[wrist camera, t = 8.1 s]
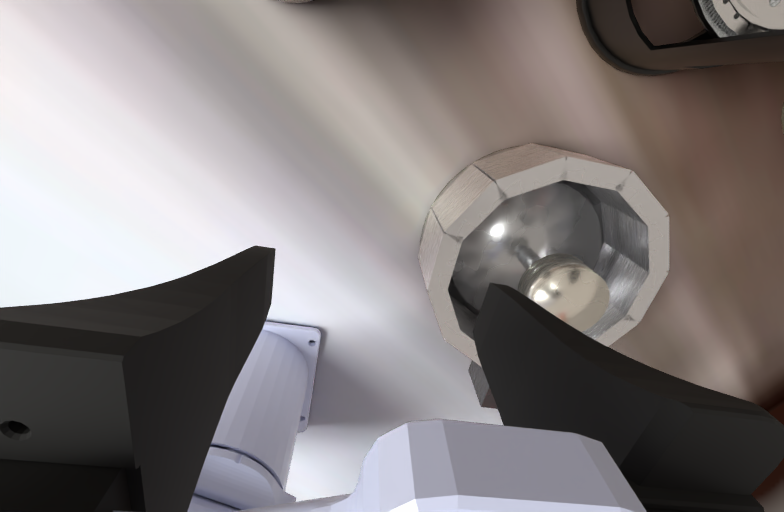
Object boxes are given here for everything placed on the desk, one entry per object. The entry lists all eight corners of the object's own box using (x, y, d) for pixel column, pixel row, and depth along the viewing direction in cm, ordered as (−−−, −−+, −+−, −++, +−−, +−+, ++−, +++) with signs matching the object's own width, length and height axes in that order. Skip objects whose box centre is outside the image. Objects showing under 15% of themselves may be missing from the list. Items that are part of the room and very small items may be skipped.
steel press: (549, 371, 27) (581, 422, 23) (391, 351, 26) (395, 402, 22) (649, 167, 21) (717, 188, 17) (449, 124, 20) (470, 135, 15)
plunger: (561, 321, 24) (615, 388, 19) (432, 302, 23) (451, 368, 18) (621, 193, 21) (708, 231, 15) (473, 163, 20) (512, 193, 14)
